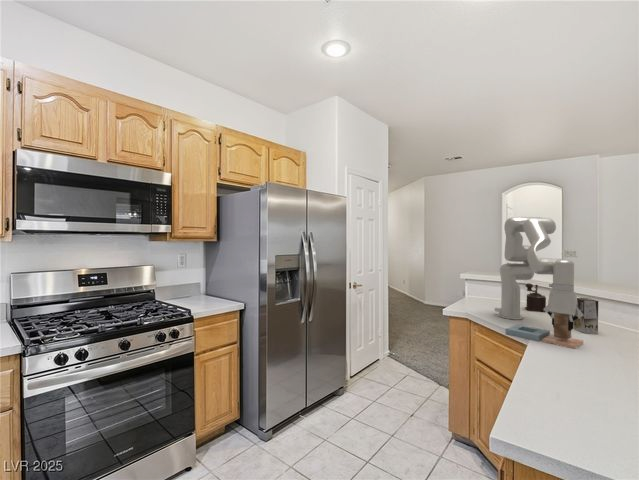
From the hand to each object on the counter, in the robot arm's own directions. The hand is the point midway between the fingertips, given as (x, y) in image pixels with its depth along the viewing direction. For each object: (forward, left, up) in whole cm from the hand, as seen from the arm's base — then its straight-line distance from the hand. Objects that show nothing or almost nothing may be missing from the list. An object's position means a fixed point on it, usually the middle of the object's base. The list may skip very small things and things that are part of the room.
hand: (562, 328), depth 144 cm
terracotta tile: (0, 0, -6) cm, 6 cm away
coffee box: (+1, +31, -7) cm, 32 cm away
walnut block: (0, 0, -4) cm, 4 cm away
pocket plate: (-14, 0, -6) cm, 15 cm away
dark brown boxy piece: (-32, +63, -7) cm, 71 cm away
